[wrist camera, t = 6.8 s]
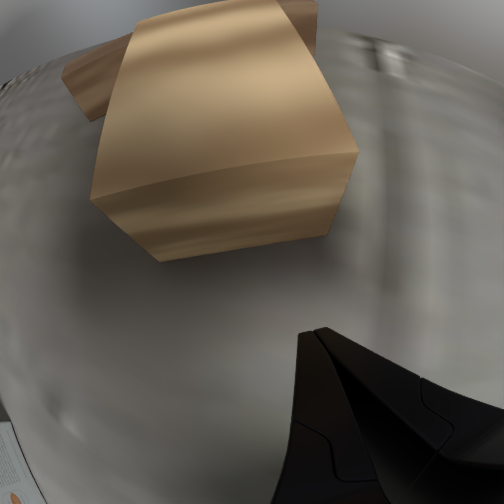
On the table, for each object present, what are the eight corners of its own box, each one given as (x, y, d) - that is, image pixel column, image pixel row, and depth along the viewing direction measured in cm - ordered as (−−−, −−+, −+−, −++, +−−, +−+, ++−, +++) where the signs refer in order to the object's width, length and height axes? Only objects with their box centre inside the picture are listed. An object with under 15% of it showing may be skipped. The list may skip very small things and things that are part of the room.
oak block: (326, 236, 17) (359, 151, 9) (160, 263, 17) (89, 200, 10) (275, 72, 22) (272, -5, 15) (165, 92, 23) (137, 21, 15)
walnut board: (314, 54, 23) (318, 3, 17) (90, 121, 22) (60, 78, 17) (304, 43, 24) (305, -6, 18) (92, 106, 23) (65, 64, 17)
